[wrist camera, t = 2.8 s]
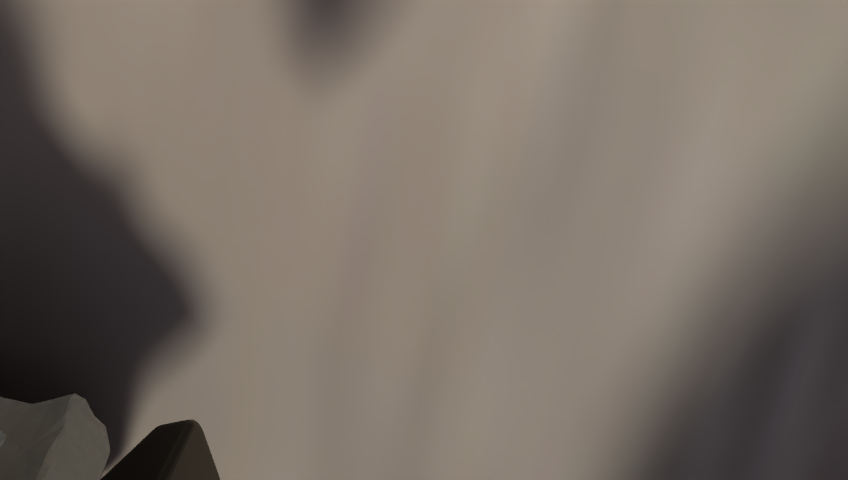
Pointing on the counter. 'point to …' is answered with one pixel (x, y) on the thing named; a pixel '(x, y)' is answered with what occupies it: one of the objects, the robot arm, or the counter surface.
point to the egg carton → (51, 440)
